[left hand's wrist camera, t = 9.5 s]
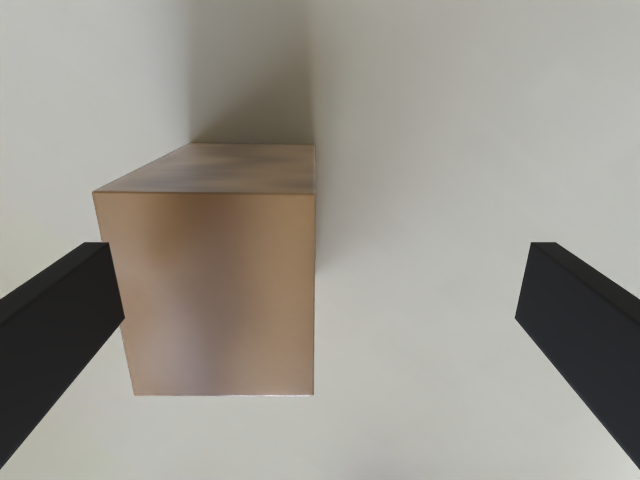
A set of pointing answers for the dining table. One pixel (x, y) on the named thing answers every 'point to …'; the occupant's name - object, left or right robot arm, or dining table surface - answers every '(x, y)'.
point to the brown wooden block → (216, 269)
